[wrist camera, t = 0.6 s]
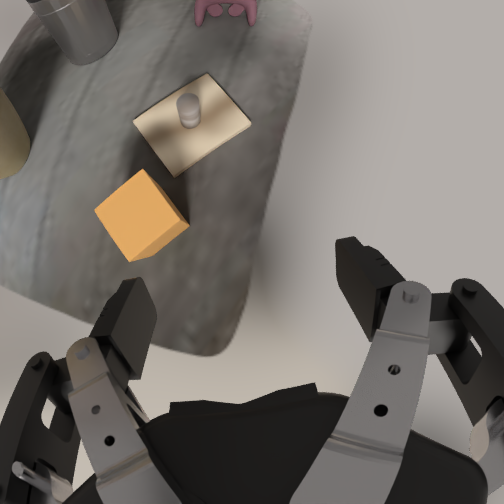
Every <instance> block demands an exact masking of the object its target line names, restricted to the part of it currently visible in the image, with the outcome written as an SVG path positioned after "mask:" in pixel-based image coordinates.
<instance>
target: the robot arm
mask: <svg viewBox="0 0 504 504" xmlns="http://www.w3.org/2000/svg"><path fill="white" fill-rule="evenodd" d="M26 1H27V2H28V3H29V5H30V6H31V8H32V9H33V11H34V12H35V13H36V15H37V16H38V18H39V19H40V20H41V22H42V23H43V25H44V26H45V27H46V29H47V30H48V31H49V33H50V34H51V36H52V37H53V38H54V40H55V41H56V42H57V44H58V45H59V47H60V48H61V49H62V51H63V52H64V54H65V55H66V56H67V58H68V59H69V60H70V62H71V63H73V64H75V65H85V64H88V63H91V62H94V61H96V60H98V59H99V58H101V57H102V56H104V55H105V54H106V53H107V52H108V51H109V50H110V49H111V48H112V47H113V46H114V45H115V43H116V41H117V38H118V32H117V30H116V27H115V25H114V22H113V19H112V17H111V14H110V12H109V9H108V7H107V4H106V1H105V0H26ZM335 251H336V276H337V281H338V285H339V287H340V289H341V291H342V292H343V294H344V296H345V298H346V300H347V301H348V303H349V305H350V307H351V309H352V310H353V312H354V314H355V316H356V318H357V319H358V321H359V323H360V325H361V327H362V329H363V331H364V333H365V334H366V336H367V338H368V340H369V342H372V344H371V347H370V350H369V352H368V355H367V357H366V360H365V363H364V365H363V368H362V370H361V373H360V375H359V377H358V380H357V382H356V385H355V387H354V389H353V391H352V394H351V396H350V397H348V396H344V395H341V394H336V393H326V392H317V388H316V385H315V383H310V384H306V385H301V386H297V387H292V388H287V389H281V390H278V391H275V392H272V393H270V394H267V395H265V396H262V397H259V398H257V399H254V400H251V401H249V402H246V403H242V404H232V403H223V402H214V401H206V400H199V401H185V402H171V403H170V410H169V413H166V414H163V415H160V416H158V417H156V418H154V419H152V420H151V421H150V420H149V418H148V417H147V415H146V413H145V412H144V410H143V409H142V407H141V405H140V404H139V402H138V400H137V399H136V397H135V395H134V394H133V392H132V390H131V389H130V387H129V386H128V381H129V380H139V379H141V375H142V371H143V367H144V363H145V359H146V356H147V352H148V348H149V345H150V341H151V338H152V334H153V331H154V327H155V324H156V320H157V313H156V309H155V306H154V304H153V301H152V299H151V297H150V295H149V292H148V290H147V288H146V285H145V283H144V281H143V279H142V278H141V277H137V278H132V279H126V280H123V281H122V283H121V285H120V287H119V289H118V290H117V292H116V293H115V294H114V295H113V296H112V297H111V298H110V299H109V300H108V301H107V303H106V304H105V306H104V308H103V311H102V312H101V314H100V317H99V318H98V320H97V321H96V323H95V325H94V327H93V329H92V331H91V333H90V335H89V337H87V338H82V339H80V340H78V341H76V342H75V343H74V344H73V345H72V346H71V347H70V348H69V350H68V351H67V354H66V357H65V358H62V359H59V360H56V361H54V360H53V359H52V357H51V356H50V355H49V353H47V352H40V353H37V354H36V355H34V356H33V357H32V358H31V359H30V360H29V361H28V363H27V364H26V366H25V368H24V370H23V373H22V375H21V377H20V379H19V381H18V383H17V385H16V387H15V390H14V392H13V394H12V397H11V399H10V401H9V404H8V406H7V408H6V411H5V413H4V416H3V419H2V421H1V424H0V504H486V503H487V497H488V495H489V494H491V493H492V492H494V491H495V490H496V489H498V488H499V487H501V486H502V485H503V484H504V308H503V307H502V306H501V305H500V304H499V303H498V302H497V300H496V299H495V298H494V297H493V296H492V295H491V294H490V293H489V292H488V291H487V290H486V289H485V288H484V287H483V286H482V285H481V284H480V283H479V282H477V281H475V280H472V279H467V278H463V279H458V280H456V281H455V282H454V283H453V284H452V287H451V291H450V293H434V294H433V293H432V294H431V292H430V290H429V289H428V288H427V287H426V286H424V285H423V284H421V283H418V282H414V281H406V280H405V279H404V278H403V276H402V275H401V274H400V273H399V272H398V271H397V270H396V269H395V268H394V267H393V266H392V264H390V262H389V261H388V260H387V259H385V257H384V256H383V255H382V254H381V253H380V252H379V251H378V250H376V249H374V248H372V247H370V246H363V245H362V244H361V243H360V242H359V241H358V240H357V239H356V237H354V236H353V237H348V238H342V239H337V240H336V243H335ZM471 336H473V338H474V339H475V340H476V342H477V343H478V345H479V346H480V348H481V351H482V357H481V355H480V354H479V352H478V351H477V349H476V348H475V347H474V345H473V343H472V342H471V340H470V339H471ZM430 354H436V355H437V357H438V359H439V360H440V362H441V364H442V366H443V367H444V370H445V371H446V373H447V375H448V377H449V379H450V380H451V382H452V384H453V386H454V388H455V390H456V392H457V394H458V396H459V398H460V400H461V402H462V403H463V406H464V408H465V410H466V412H467V414H468V416H469V418H470V420H471V423H472V425H473V429H472V431H471V434H470V448H469V451H470V453H471V454H472V456H471V458H470V457H469V456H466V455H464V454H462V453H459V452H457V451H455V450H453V449H451V448H449V447H446V446H444V445H442V444H440V443H438V442H435V441H434V440H432V439H430V438H428V437H425V436H423V435H421V434H419V433H417V432H415V431H414V430H412V429H411V426H412V423H413V419H414V415H415V412H416V407H417V404H418V400H419V396H420V392H421V387H422V383H423V378H424V373H425V367H426V362H427V355H430ZM47 398H48V399H49V400H50V401H51V402H52V403H53V404H54V405H55V406H56V409H55V412H54V415H53V418H52V421H51V424H50V428H49V429H48V428H47V427H46V426H44V424H43V422H42V419H41V413H42V410H43V407H44V405H45V402H46V399H47ZM81 439H82V442H83V445H84V447H85V450H86V453H87V455H88V457H89V460H90V462H91V465H92V467H93V469H94V471H95V473H94V474H93V475H92V476H91V477H90V478H88V479H87V480H86V481H85V482H84V483H83V484H82V485H81V486H80V487H79V488H78V489H77V490H76V491H74V492H73V488H72V483H73V477H74V471H75V464H76V460H77V455H78V449H79V445H80V440H81Z"/></svg>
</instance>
